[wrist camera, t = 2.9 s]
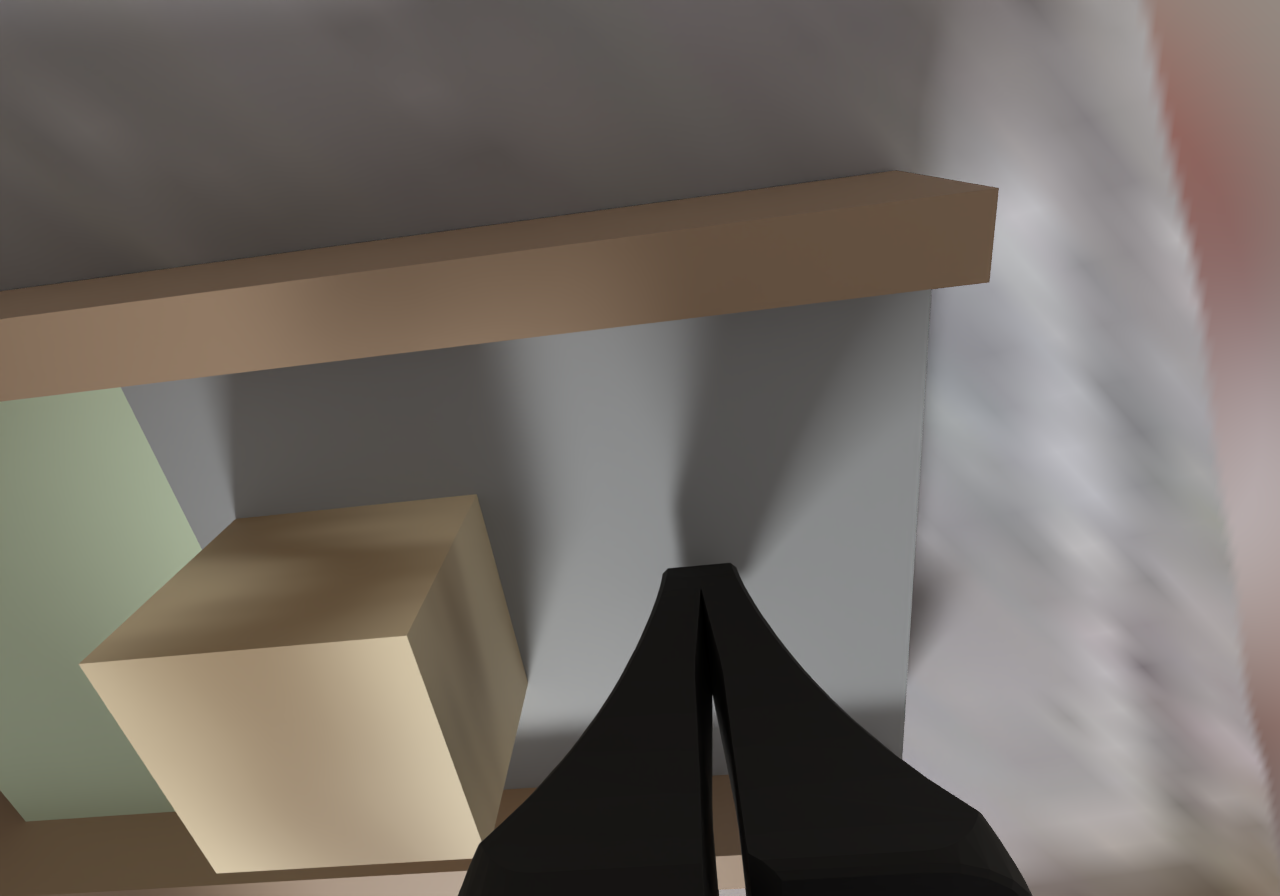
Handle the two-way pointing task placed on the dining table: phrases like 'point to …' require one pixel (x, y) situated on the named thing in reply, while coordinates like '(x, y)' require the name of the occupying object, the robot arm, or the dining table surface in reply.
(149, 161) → the dining table surface
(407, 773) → the wood block
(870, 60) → the dining table surface
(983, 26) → the dining table surface
